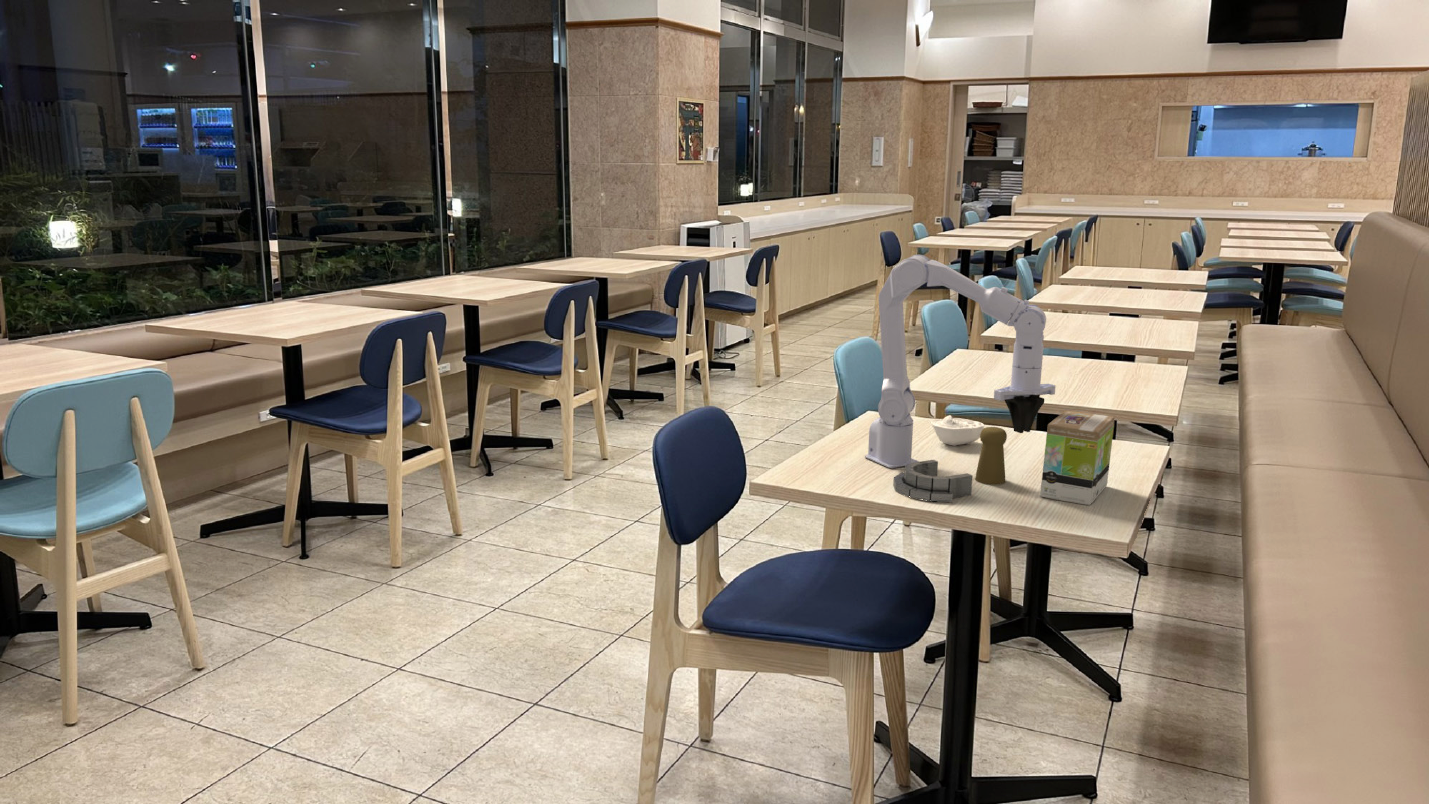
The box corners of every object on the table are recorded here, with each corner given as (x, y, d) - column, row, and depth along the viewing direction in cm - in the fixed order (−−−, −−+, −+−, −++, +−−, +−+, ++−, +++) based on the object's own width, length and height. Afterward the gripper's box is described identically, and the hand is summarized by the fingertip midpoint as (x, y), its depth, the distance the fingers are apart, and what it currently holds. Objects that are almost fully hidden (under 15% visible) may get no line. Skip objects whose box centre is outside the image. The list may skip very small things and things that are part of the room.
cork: (1006, 485, 209) (1010, 432, 207) (975, 483, 211) (979, 430, 208) (1004, 477, 215) (1008, 425, 213) (974, 475, 216) (977, 423, 214)
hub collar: (878, 483, 210) (879, 464, 209) (926, 475, 215) (927, 457, 214) (927, 506, 196) (929, 486, 195) (977, 498, 202) (979, 478, 201)
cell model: (989, 450, 235) (991, 421, 234) (936, 450, 235) (937, 420, 233) (976, 438, 245) (978, 410, 244) (925, 438, 245) (927, 410, 243)
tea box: (1092, 506, 197) (1100, 431, 194) (1038, 497, 202) (1044, 423, 199) (1108, 486, 210) (1115, 414, 206) (1057, 478, 215) (1063, 408, 212)
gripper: (1013, 372, 204) (1008, 440, 207) (1068, 366, 211) (1062, 432, 214) (988, 366, 210) (984, 431, 214) (1043, 360, 217) (1038, 424, 220)
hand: (1021, 431), depth 214 cm, fingers closed
